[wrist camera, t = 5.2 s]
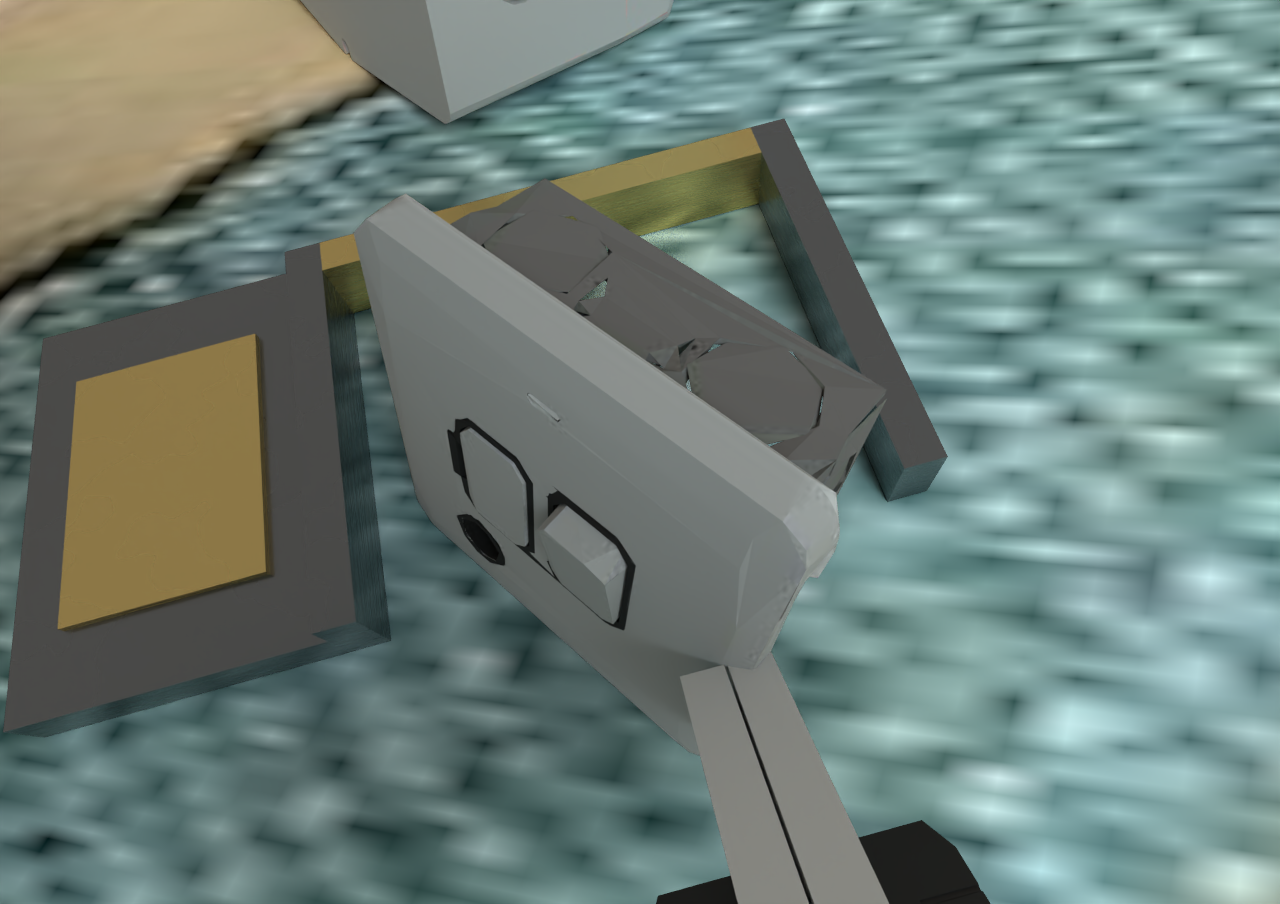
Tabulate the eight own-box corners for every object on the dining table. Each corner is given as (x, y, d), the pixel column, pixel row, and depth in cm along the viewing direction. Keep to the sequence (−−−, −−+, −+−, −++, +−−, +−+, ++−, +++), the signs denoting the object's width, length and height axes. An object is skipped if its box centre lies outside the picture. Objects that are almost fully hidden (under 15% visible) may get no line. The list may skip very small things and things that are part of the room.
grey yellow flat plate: (44, 737, 19) (-28, 728, 17) (75, 361, 23) (20, 323, 22) (926, 490, 19) (947, 456, 17) (779, 171, 24) (784, 118, 22)
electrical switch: (421, 515, 20) (255, 265, 12) (559, 387, 22) (497, 95, 14) (704, 771, 17) (737, 663, 9) (839, 596, 19) (969, 375, 11)
